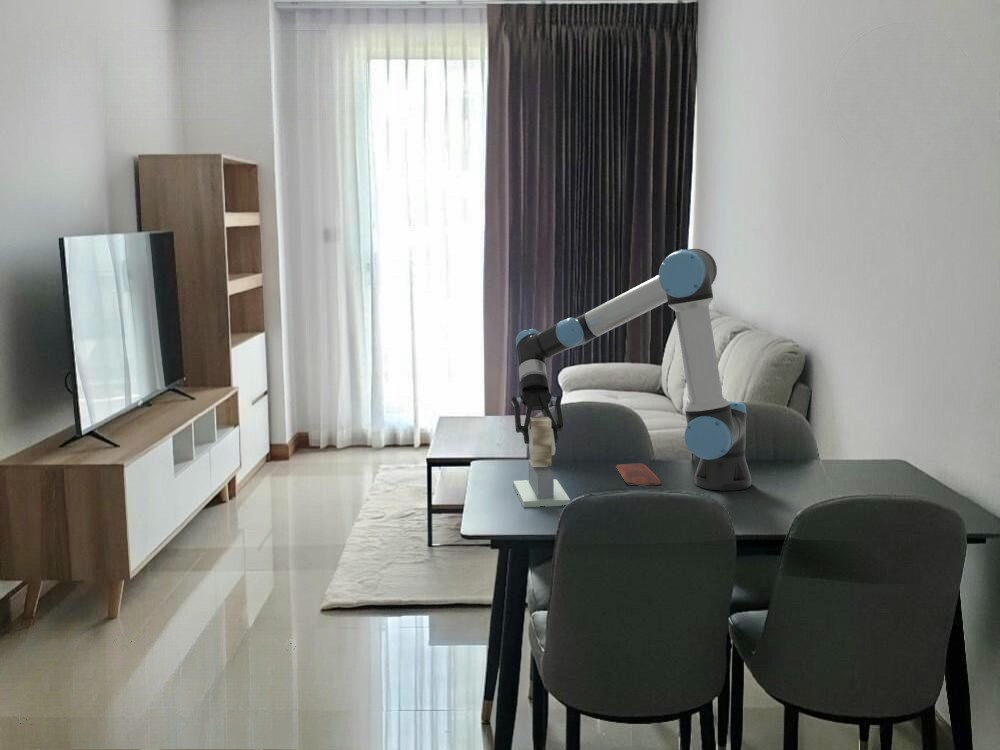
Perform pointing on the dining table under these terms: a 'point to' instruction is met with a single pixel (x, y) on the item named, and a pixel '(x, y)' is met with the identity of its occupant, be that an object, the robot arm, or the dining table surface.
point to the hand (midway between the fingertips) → (542, 452)
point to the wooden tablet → (637, 474)
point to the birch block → (541, 441)
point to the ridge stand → (540, 489)
